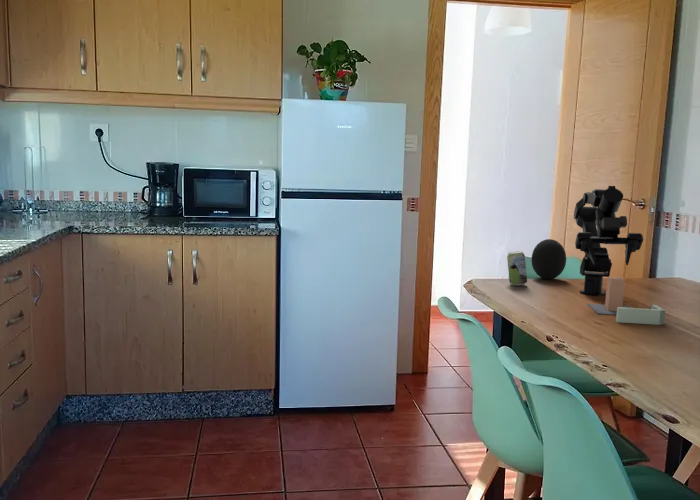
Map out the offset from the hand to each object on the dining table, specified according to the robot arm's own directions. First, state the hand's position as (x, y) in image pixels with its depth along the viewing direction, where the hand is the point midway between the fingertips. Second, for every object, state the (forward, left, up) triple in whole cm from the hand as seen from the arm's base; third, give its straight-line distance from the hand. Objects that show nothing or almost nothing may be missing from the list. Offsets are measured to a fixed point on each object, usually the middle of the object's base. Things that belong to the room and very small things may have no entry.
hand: (610, 264), depth 185 cm
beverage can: (-10, -36, -14) cm, 39 cm away
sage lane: (+9, +12, -14) cm, 20 cm away
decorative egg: (-30, -34, -14) cm, 47 cm away
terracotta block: (+2, +3, -13) cm, 14 cm away
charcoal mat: (+2, +3, -14) cm, 14 cm away
